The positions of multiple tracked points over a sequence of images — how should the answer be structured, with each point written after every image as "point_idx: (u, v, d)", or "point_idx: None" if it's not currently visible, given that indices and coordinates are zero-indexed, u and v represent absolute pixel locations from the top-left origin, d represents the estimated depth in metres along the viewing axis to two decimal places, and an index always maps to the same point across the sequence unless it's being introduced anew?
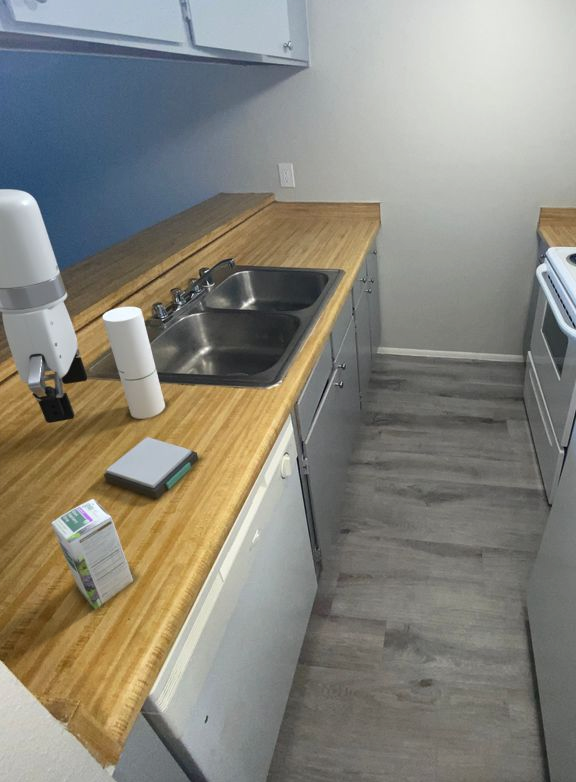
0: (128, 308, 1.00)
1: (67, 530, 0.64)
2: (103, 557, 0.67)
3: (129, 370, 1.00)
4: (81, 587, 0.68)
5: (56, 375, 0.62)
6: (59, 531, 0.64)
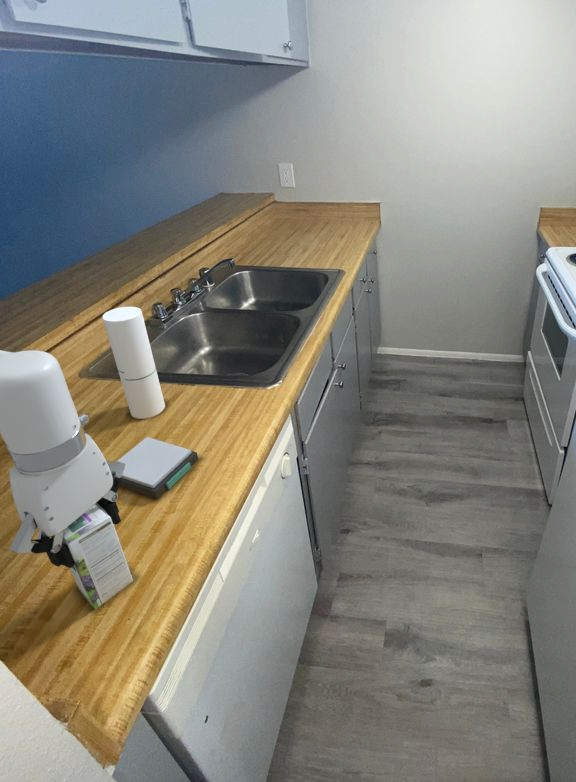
0: (128, 308, 1.00)
1: (66, 531, 0.64)
2: (102, 557, 0.67)
3: (129, 370, 1.00)
4: (81, 587, 0.68)
5: None
6: None
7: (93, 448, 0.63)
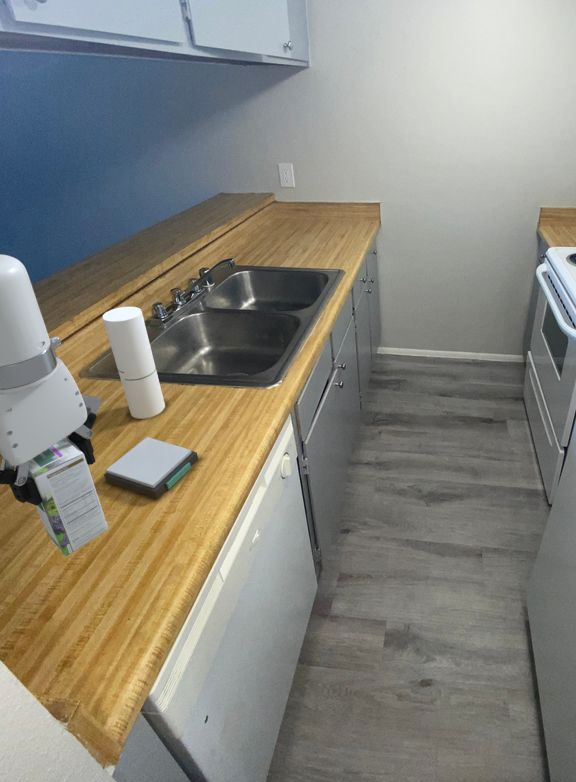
0: (128, 308, 1.00)
1: (34, 465, 0.58)
2: (74, 497, 0.61)
3: (129, 370, 1.00)
4: (50, 531, 0.63)
5: None
6: None
7: (65, 373, 0.57)
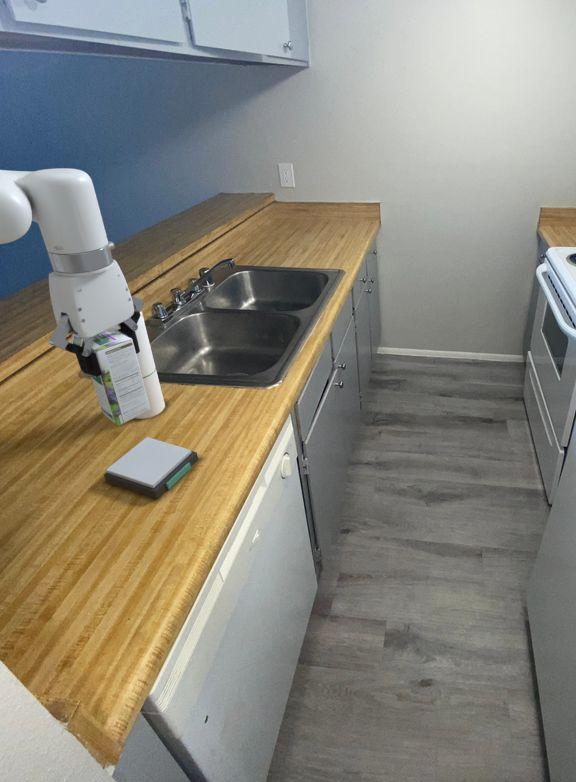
0: None
1: (94, 344, 0.73)
2: (124, 375, 0.76)
3: None
4: (105, 405, 0.78)
5: None
6: None
7: (118, 270, 0.72)
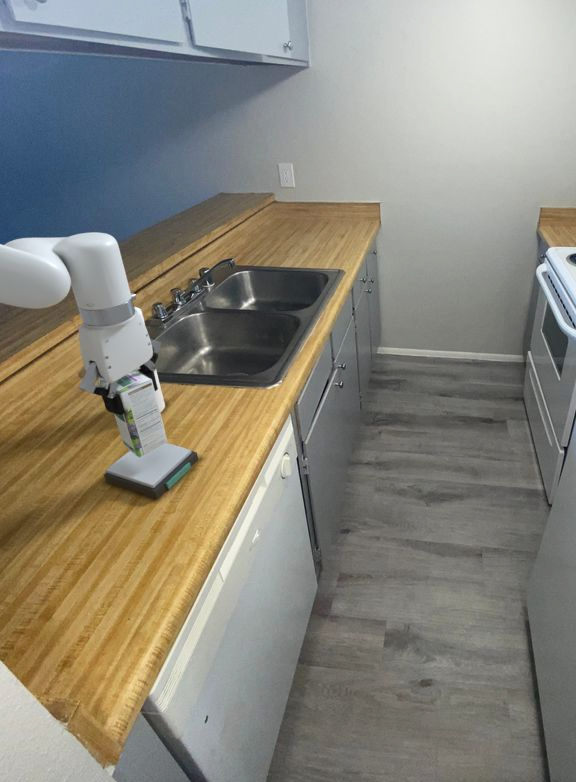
0: None
1: (118, 386, 0.81)
2: (145, 412, 0.84)
3: None
4: (127, 439, 0.85)
5: None
6: None
7: (139, 319, 0.80)
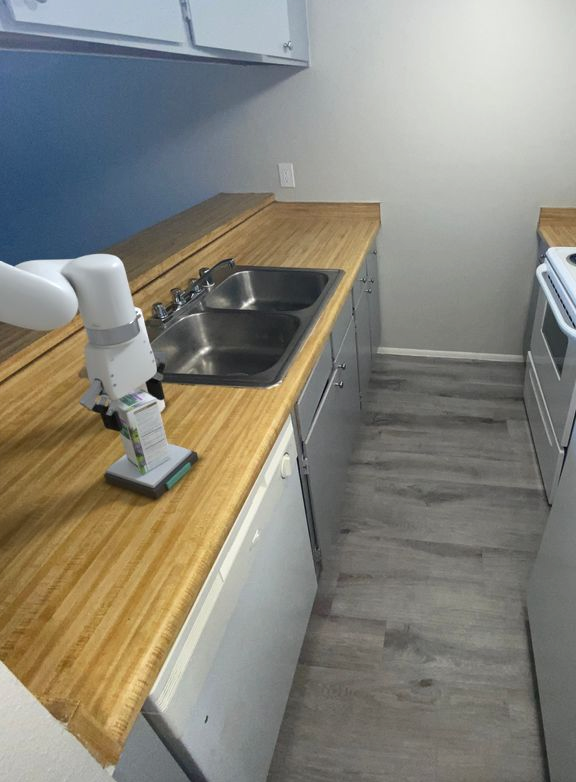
0: None
1: (124, 405, 0.83)
2: (149, 430, 0.86)
3: None
4: (132, 456, 0.87)
5: None
6: (118, 406, 0.83)
7: (144, 337, 0.81)
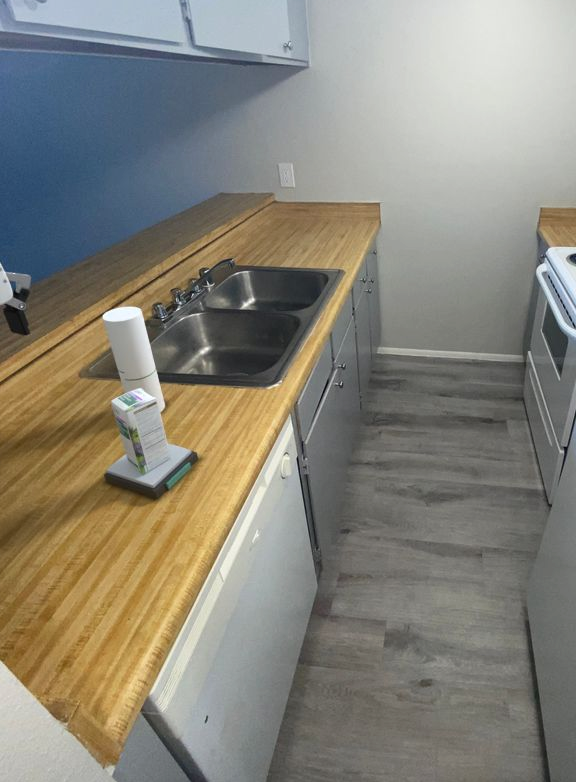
0: (128, 308, 1.00)
1: (124, 405, 0.83)
2: (149, 430, 0.86)
3: (129, 370, 1.00)
4: (132, 456, 0.87)
5: None
6: (118, 406, 0.83)
7: None
